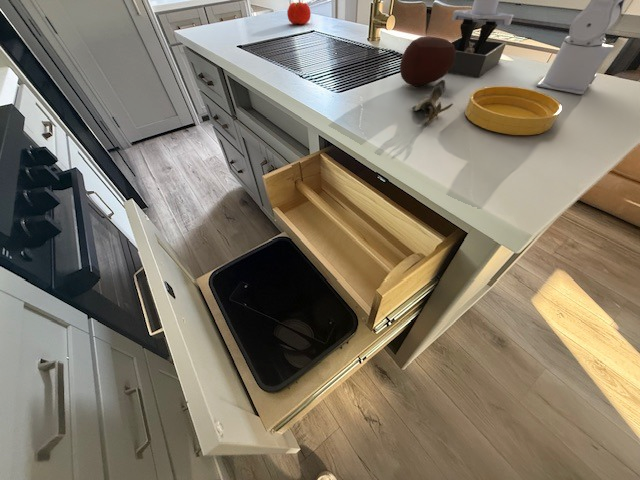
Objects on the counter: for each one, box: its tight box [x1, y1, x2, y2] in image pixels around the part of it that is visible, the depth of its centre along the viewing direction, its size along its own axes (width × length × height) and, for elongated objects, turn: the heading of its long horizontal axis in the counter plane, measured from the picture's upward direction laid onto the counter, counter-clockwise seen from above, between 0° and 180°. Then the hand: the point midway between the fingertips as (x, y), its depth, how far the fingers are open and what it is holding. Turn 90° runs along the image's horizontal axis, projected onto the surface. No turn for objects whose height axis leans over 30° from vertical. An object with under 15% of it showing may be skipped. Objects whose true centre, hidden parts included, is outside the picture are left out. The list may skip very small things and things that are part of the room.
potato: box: [399, 35, 456, 87], centre depth 66 cm, size 11×13×10 cm
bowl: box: [464, 85, 563, 136], centre depth 54 cm, size 16×16×4 cm
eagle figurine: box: [411, 79, 454, 126], centre depth 55 cm, size 8×7×9 cm
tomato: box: [286, 1, 311, 25], centre depth 125 cm, size 11×11×8 cm
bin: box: [447, 36, 507, 79], centre depth 76 cm, size 13×15×5 cm
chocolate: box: [464, 42, 475, 53], centre depth 75 cm, size 3×2×4 cm
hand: (469, 54), depth 76 cm, fingers closed on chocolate, 3 cm apart
